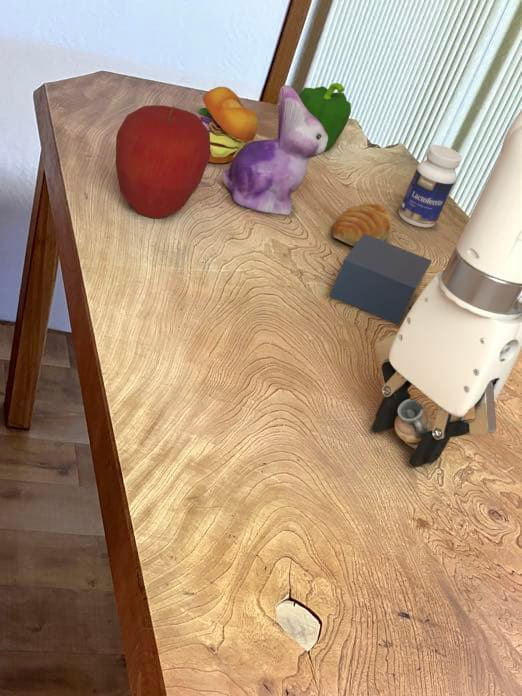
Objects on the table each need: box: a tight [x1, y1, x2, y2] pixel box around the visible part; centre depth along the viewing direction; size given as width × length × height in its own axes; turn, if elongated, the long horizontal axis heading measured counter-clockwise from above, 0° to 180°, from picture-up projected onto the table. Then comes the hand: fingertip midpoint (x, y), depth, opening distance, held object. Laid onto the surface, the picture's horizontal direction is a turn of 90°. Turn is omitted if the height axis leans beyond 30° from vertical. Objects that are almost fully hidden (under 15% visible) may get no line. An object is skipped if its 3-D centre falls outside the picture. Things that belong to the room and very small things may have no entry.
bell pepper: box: [298, 82, 352, 152], centre depth 141 cm, size 8×8×10 cm
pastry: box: [331, 201, 393, 247], centre depth 121 cm, size 9×7×4 cm
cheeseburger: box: [191, 86, 259, 164], centre depth 132 cm, size 10×11×10 cm
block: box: [329, 234, 433, 325], centre depth 110 cm, size 9×9×5 cm
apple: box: [115, 104, 211, 219], centre depth 112 cm, size 12×12×13 cm
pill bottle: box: [398, 144, 463, 229], centre depth 128 cm, size 6×6×10 cm
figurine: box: [221, 84, 328, 216], centre depth 120 cm, size 9×10×15 cm
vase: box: [382, 395, 432, 450], centre depth 87 cm, size 5×5×6 cm
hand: (402, 444), depth 88 cm, fingers closed on vase, 4 cm apart
